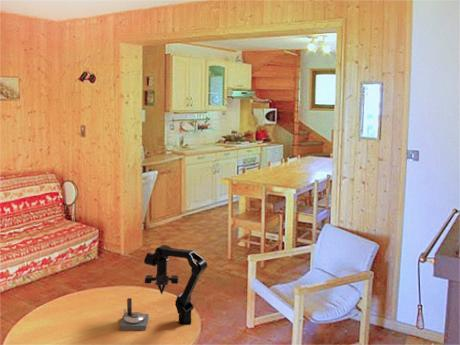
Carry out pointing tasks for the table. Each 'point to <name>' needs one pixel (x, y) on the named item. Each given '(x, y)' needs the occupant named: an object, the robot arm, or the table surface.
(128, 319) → the grey round part
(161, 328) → the table surface
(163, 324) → the table surface
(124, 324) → the post base
